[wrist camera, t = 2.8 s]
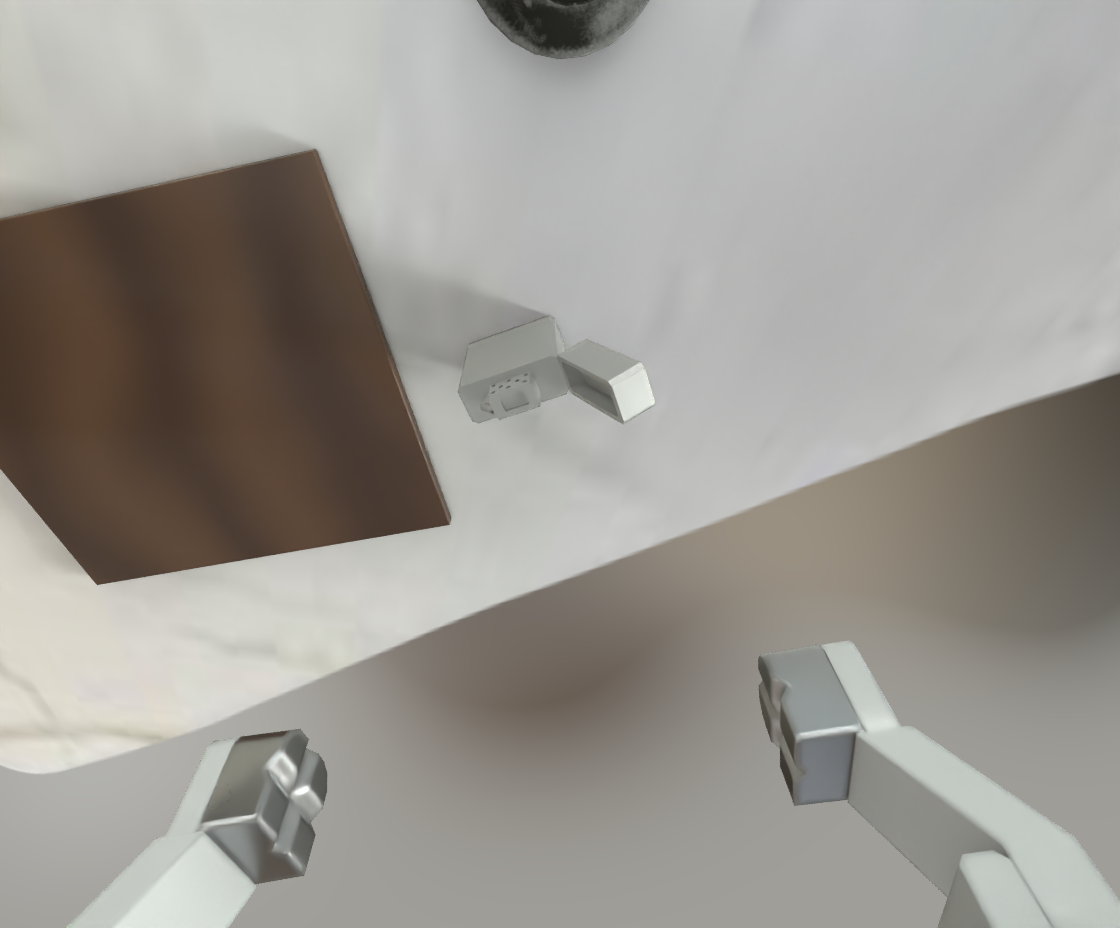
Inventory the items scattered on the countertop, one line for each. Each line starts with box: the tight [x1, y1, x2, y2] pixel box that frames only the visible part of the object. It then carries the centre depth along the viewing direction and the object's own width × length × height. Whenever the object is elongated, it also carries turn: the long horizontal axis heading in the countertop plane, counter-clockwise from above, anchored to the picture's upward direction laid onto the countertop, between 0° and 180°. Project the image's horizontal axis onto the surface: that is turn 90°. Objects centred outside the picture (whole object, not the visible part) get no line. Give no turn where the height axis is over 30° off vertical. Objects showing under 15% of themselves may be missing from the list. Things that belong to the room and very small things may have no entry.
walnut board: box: [0, 149, 451, 585], centre depth 29 cm, size 20×18×1 cm
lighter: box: [458, 316, 655, 424], centre depth 24 cm, size 7×2×8 cm, turn 110°
